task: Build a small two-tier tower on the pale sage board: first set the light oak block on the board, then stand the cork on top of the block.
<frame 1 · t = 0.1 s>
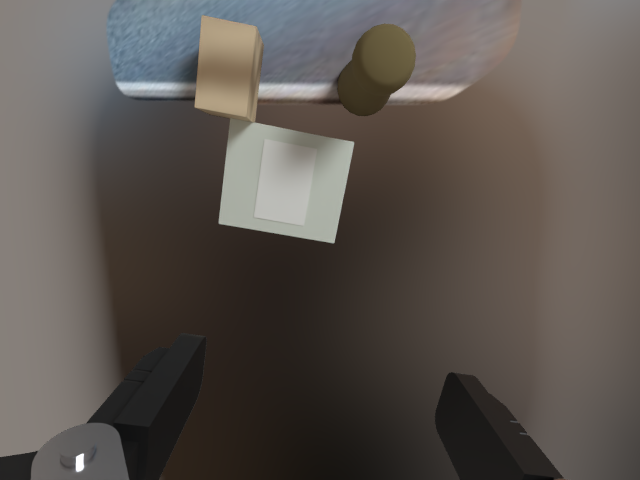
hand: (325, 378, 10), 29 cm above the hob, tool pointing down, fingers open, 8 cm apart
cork: (364, 87, 35), on the hob
oak block: (236, 81, 35), on the hob
board: (285, 183, 37), on the hob
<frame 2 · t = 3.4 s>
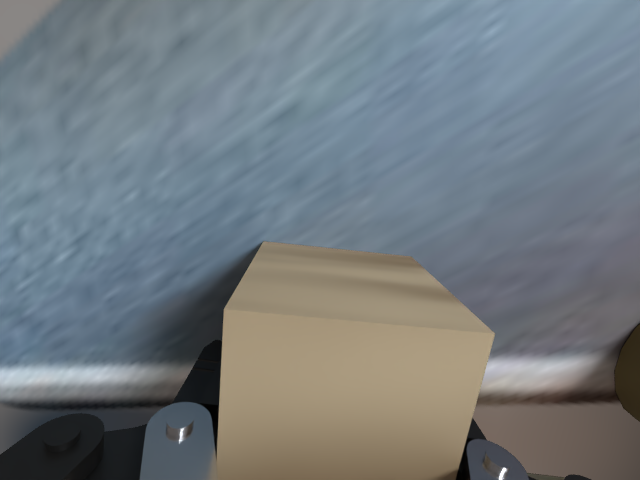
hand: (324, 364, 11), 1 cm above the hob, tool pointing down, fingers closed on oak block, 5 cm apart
oak block: (324, 354, 12), on the hob, touching gripper
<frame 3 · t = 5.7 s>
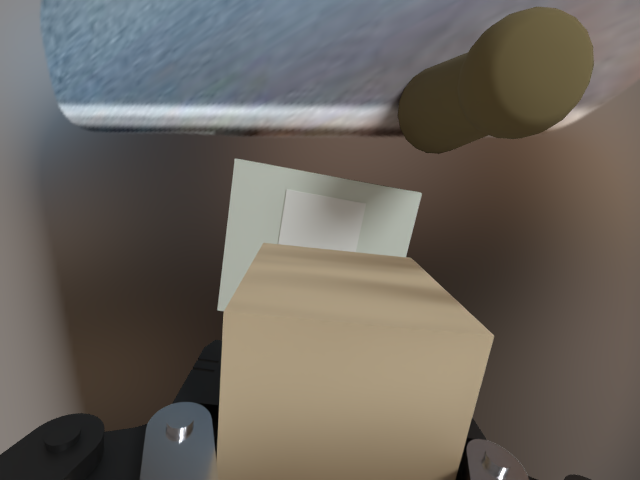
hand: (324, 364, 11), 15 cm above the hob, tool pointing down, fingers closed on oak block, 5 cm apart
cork: (437, 111, 23), on the hob
oak block: (324, 355, 12), point 14 cm above the hob, touching gripper
board: (315, 250, 25), on the hob
when the fingers open (3 cm above the hob, at t = 8.2 s): oak block drops 1 cm, resting on board.
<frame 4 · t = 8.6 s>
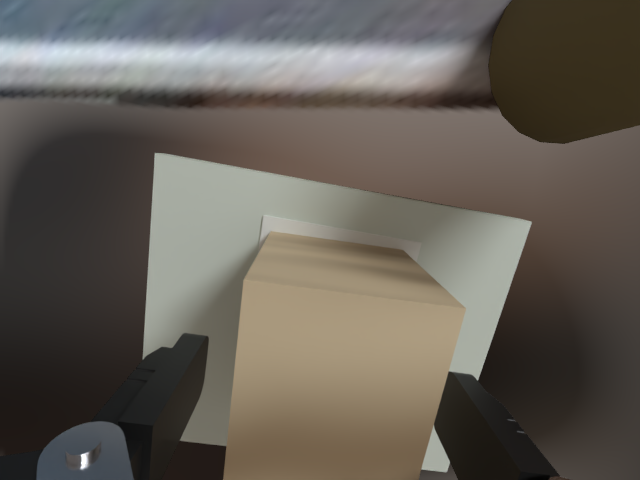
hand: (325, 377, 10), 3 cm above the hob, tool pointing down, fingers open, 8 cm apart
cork: (566, 58, 12), on the hob
oak block: (321, 336, 13), point 1 cm above the hob, touching board
board: (321, 326, 14), on the hob
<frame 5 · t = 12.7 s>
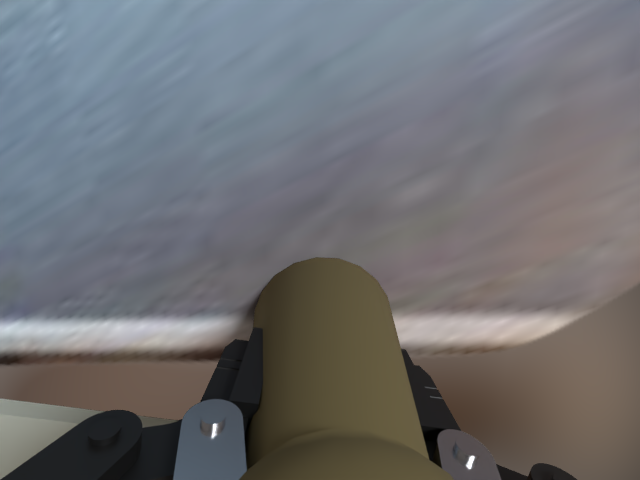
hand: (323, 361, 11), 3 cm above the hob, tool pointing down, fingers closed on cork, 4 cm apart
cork: (323, 321, 14), on the hob, touching gripper
when the fingers open (10 cm above the hob, at t = 18.4 s): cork moves 1 cm, resting on oak block.
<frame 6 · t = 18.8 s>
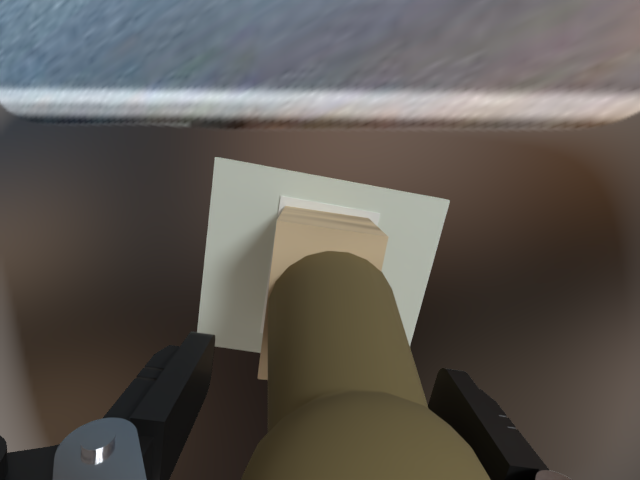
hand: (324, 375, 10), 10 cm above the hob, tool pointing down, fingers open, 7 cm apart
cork: (331, 310, 15), point 6 cm above the hob, touching oak block
oak block: (317, 274, 20), point 1 cm above the hob, touching board, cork
board: (317, 270, 21), on the hob
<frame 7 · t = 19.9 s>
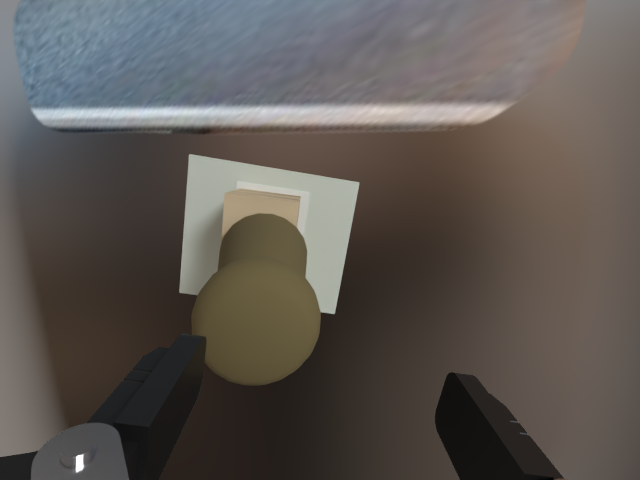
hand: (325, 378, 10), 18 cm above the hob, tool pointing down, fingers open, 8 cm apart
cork: (264, 255, 22), point 6 cm above the hob, touching oak block
oak block: (266, 238, 27), point 1 cm above the hob, touching board, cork
board: (267, 237, 28), on the hob
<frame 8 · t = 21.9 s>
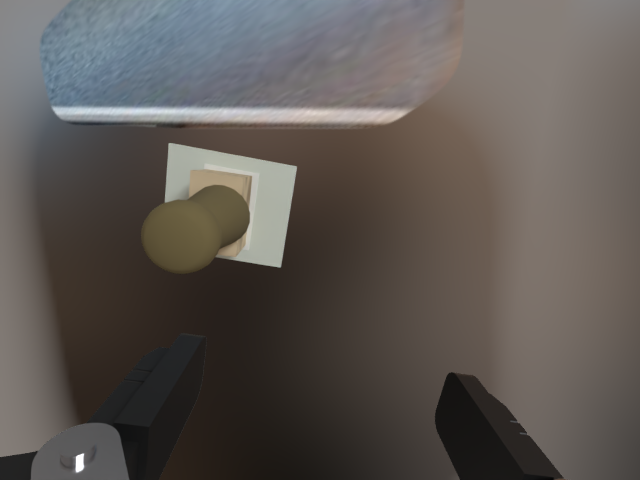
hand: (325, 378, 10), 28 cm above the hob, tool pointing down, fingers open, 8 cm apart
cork: (219, 215, 31), point 6 cm above the hob, touching oak block
oak block: (226, 208, 36), point 1 cm above the hob, touching board, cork
board: (229, 207, 37), on the hob
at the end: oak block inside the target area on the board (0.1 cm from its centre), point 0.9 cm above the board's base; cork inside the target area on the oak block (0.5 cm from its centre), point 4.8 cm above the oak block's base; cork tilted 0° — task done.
